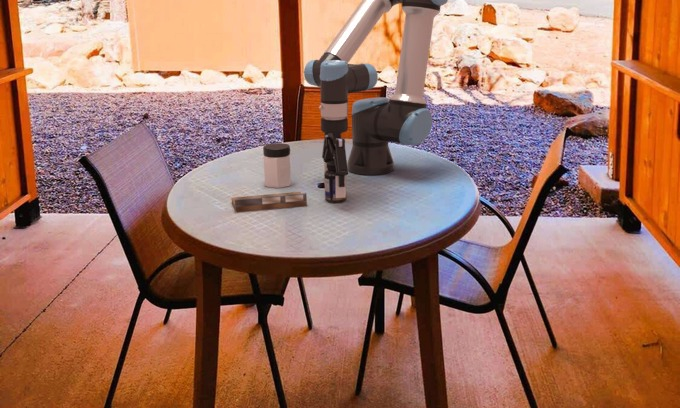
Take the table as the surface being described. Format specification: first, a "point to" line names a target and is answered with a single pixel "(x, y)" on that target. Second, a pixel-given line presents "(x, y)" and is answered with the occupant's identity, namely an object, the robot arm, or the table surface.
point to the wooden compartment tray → (269, 201)
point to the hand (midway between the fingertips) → (334, 190)
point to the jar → (277, 165)
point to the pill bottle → (331, 184)
